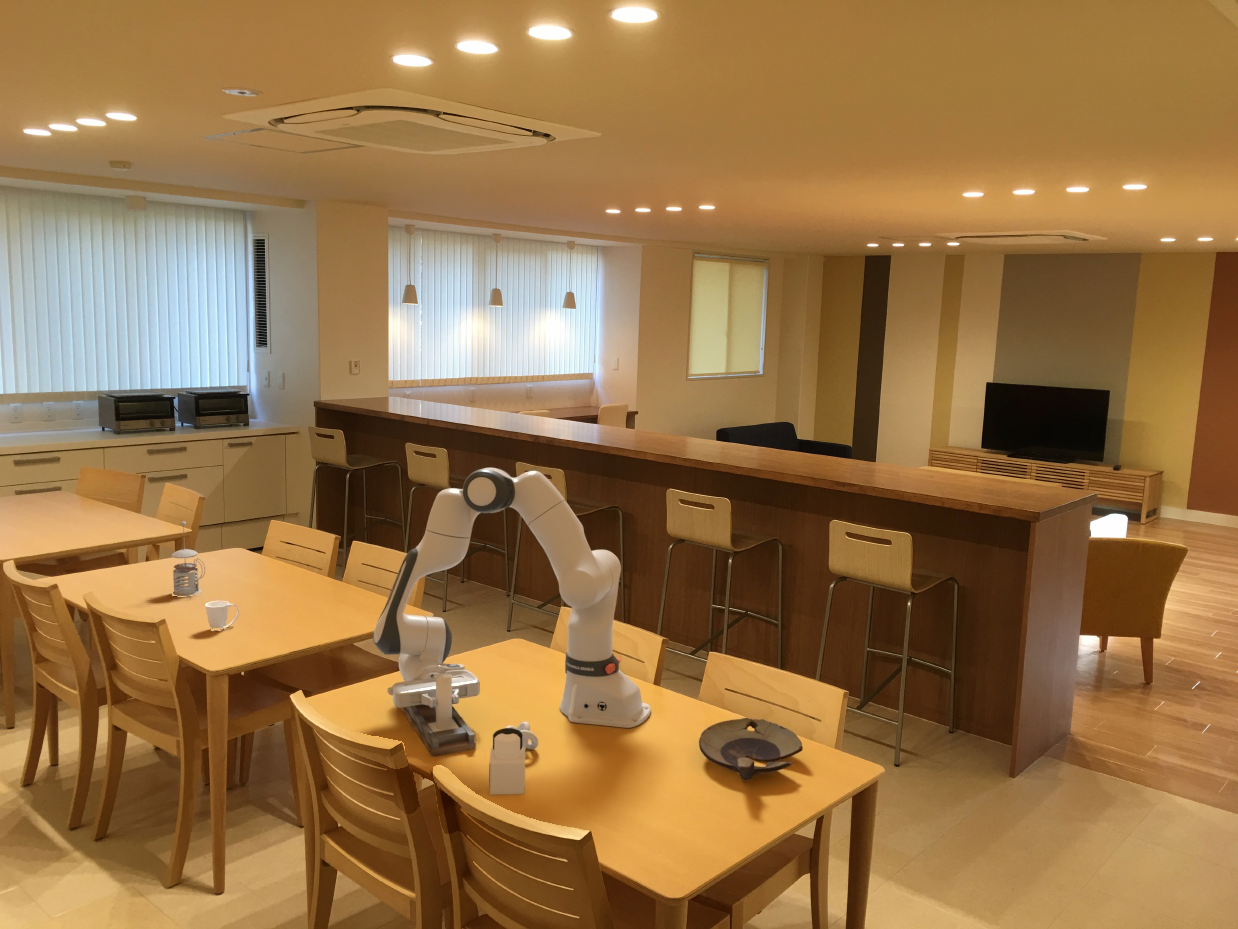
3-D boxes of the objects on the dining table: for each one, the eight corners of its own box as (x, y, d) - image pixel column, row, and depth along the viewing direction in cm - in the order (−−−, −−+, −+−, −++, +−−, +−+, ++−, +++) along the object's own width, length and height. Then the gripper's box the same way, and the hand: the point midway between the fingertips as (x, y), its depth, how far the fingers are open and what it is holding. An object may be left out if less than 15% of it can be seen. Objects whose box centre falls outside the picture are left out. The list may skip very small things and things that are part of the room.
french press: (181, 588, 334) (178, 517, 330) (212, 590, 332) (210, 519, 329) (164, 596, 324) (161, 523, 321) (196, 598, 323) (193, 525, 319)
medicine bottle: (490, 779, 203) (491, 724, 201) (524, 778, 204) (525, 724, 202) (489, 795, 196) (489, 739, 194) (524, 795, 197) (525, 739, 195)
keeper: (460, 734, 220) (460, 679, 218) (434, 738, 217) (434, 682, 215) (453, 724, 225) (452, 670, 223) (427, 728, 223) (427, 673, 221)
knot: (543, 746, 219) (544, 722, 218) (531, 761, 212) (531, 736, 211) (512, 741, 221) (513, 717, 220) (499, 756, 214) (499, 731, 213)
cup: (201, 629, 292) (200, 603, 291) (233, 622, 300) (232, 597, 298) (211, 634, 288) (210, 608, 286) (244, 627, 295) (243, 602, 294)
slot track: (475, 749, 217) (475, 730, 216) (432, 756, 212) (431, 737, 212) (437, 697, 245) (437, 680, 244) (397, 703, 241) (397, 686, 240)
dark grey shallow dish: (817, 755, 218) (819, 723, 217) (760, 809, 193) (762, 773, 192) (728, 730, 230) (729, 699, 229) (664, 778, 205) (665, 744, 204)
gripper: (385, 675, 227) (399, 696, 215) (469, 663, 236) (487, 682, 224) (385, 700, 228) (399, 723, 215) (469, 687, 237) (487, 708, 224)
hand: (445, 702), depth 220 cm, fingers closed on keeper, 4 cm apart
